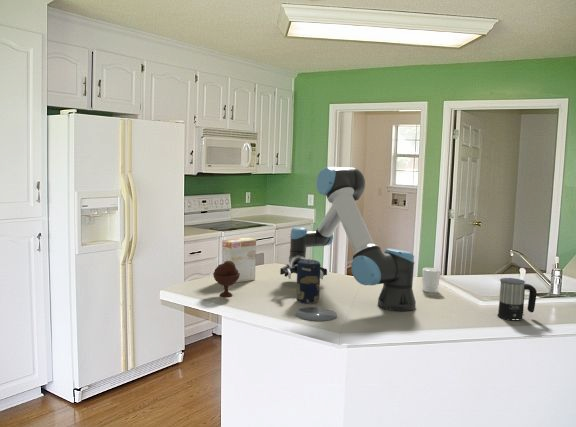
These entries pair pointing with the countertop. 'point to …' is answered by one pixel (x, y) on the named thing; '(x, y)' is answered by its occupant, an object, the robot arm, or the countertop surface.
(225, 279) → the ice cream bowl
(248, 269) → the coffeecake box
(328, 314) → the disc
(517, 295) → the milk frother
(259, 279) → the countertop surface
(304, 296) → the canister
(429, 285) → the white cup
